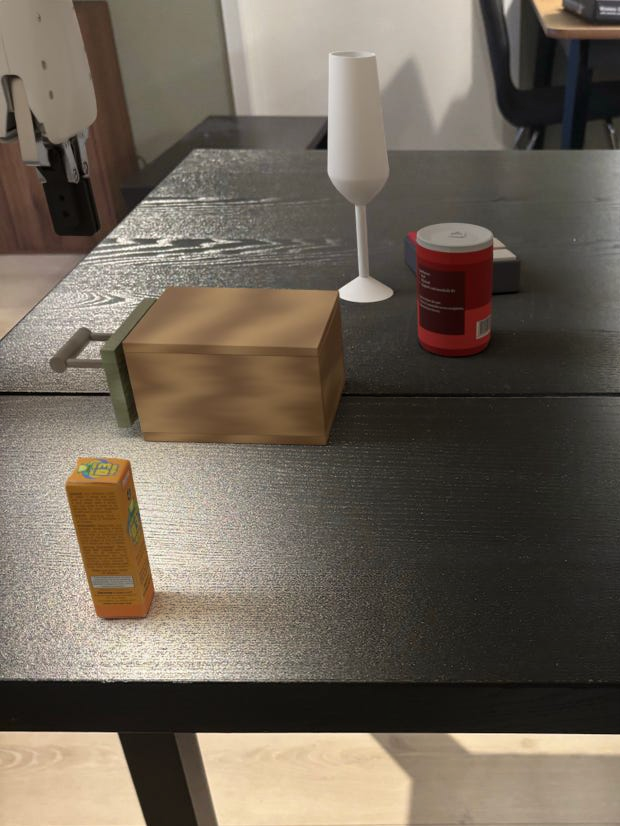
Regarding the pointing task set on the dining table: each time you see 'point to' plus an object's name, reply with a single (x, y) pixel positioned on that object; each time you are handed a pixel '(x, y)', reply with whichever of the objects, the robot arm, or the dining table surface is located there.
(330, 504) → the dining table surface
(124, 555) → the supplement box
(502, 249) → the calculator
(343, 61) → the champagne flute
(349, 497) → the dining table surface
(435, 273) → the canned food
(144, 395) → the cabinet
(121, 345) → the drawer
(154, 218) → the dining table surface
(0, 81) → the robot arm
